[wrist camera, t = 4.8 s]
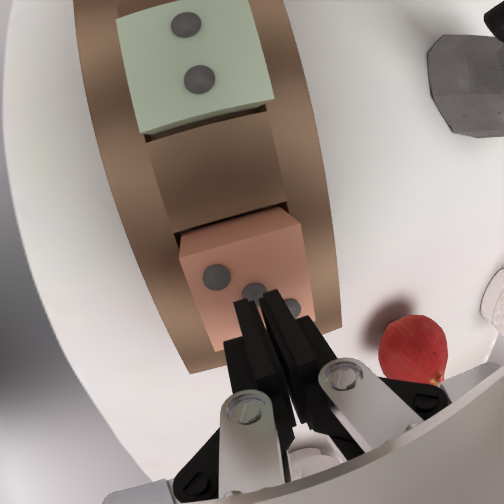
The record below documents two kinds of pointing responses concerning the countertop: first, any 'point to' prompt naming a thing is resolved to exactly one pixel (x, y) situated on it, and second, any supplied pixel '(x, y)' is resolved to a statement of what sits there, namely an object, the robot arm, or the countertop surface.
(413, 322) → the pomegranate
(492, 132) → the coffeepot
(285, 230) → the button three
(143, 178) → the button panel
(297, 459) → the teacup
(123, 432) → the countertop surface
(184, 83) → the button two
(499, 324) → the white cup
